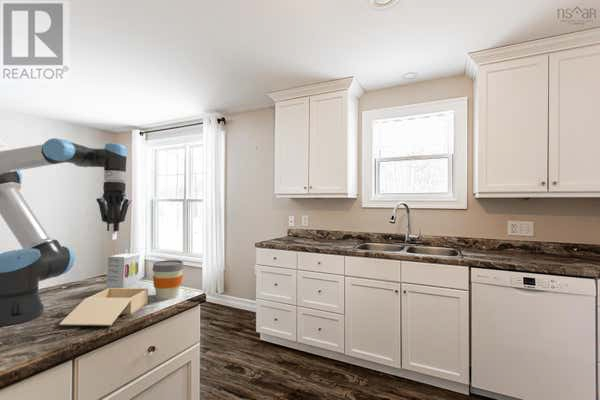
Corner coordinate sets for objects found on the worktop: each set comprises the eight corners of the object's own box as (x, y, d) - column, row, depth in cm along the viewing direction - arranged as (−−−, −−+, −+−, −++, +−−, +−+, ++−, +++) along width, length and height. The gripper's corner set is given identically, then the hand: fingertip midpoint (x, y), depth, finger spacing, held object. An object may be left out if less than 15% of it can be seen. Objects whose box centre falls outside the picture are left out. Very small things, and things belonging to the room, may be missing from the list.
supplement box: (122, 294, 123) (123, 257, 124) (105, 293, 125) (106, 256, 126) (139, 288, 133) (140, 253, 133) (122, 287, 134) (124, 252, 135)
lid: (86, 297, 101) (86, 299, 101) (59, 323, 89) (59, 325, 90) (131, 298, 101) (131, 299, 101) (110, 324, 90) (110, 325, 90)
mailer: (86, 314, 101) (87, 297, 101) (108, 302, 113) (109, 288, 113) (130, 314, 101) (131, 298, 102) (147, 303, 113) (148, 288, 114)
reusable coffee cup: (162, 291, 129) (163, 259, 130) (187, 292, 128) (188, 260, 128) (145, 300, 117) (146, 265, 117) (172, 301, 116) (174, 266, 116)
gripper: (92, 180, 108) (89, 240, 108) (125, 181, 109) (123, 240, 108) (105, 182, 116) (102, 238, 115) (136, 183, 116) (134, 238, 116)
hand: (112, 239), depth 112 cm, fingers closed
